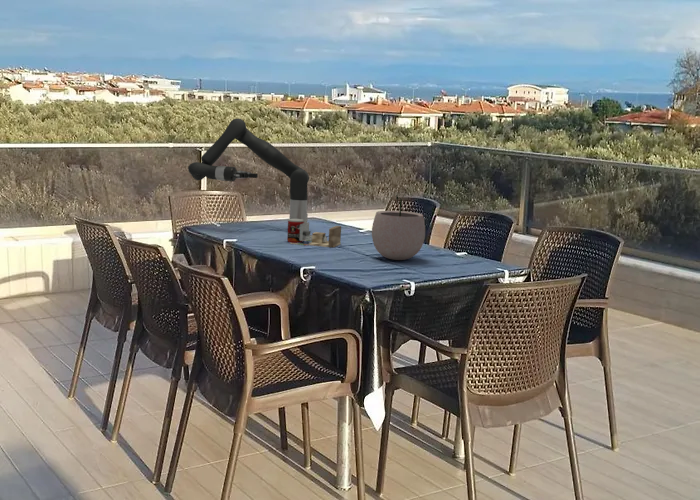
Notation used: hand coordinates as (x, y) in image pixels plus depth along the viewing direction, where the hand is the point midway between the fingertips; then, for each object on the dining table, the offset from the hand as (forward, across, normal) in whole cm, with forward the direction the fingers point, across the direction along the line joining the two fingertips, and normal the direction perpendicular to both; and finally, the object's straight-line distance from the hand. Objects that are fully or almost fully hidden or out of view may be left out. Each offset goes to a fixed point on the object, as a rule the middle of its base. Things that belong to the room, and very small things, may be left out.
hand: (257, 175), depth 416 cm
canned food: (+26, -12, +30) cm, 42 cm away
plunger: (+36, -12, +29) cm, 48 cm away
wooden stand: (+37, -12, +30) cm, 49 cm away
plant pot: (+83, -32, +30) cm, 94 cm away
